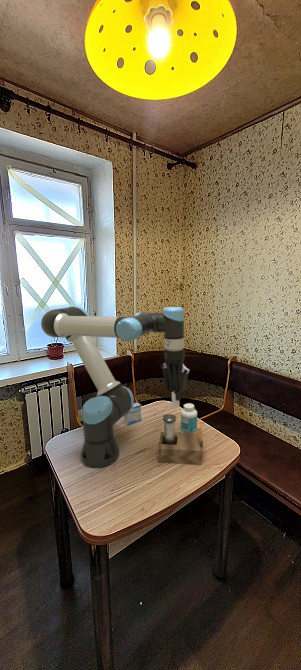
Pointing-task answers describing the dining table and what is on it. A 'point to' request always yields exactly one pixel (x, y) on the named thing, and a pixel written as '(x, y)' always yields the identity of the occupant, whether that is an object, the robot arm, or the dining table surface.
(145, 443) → the dining table surface
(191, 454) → the block
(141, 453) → the dining table surface
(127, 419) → the medicine box
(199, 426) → the plate
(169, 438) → the steel pin
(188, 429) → the pill bottle
